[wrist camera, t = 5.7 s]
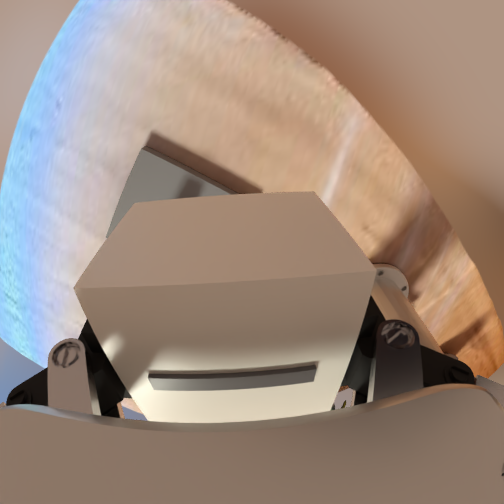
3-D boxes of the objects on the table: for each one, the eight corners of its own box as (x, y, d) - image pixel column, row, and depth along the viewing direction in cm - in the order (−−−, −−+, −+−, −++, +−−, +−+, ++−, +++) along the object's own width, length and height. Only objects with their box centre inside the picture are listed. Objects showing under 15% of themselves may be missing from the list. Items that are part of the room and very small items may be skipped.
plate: (256, 203, 27) (257, 208, 26) (208, 277, 31) (207, 285, 30) (146, 146, 24) (141, 148, 22) (110, 230, 28) (106, 237, 26)
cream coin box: (313, 191, 10) (380, 274, 5) (302, 323, 13) (329, 419, 9) (134, 202, 9) (70, 292, 5) (166, 331, 13) (151, 429, 8)
